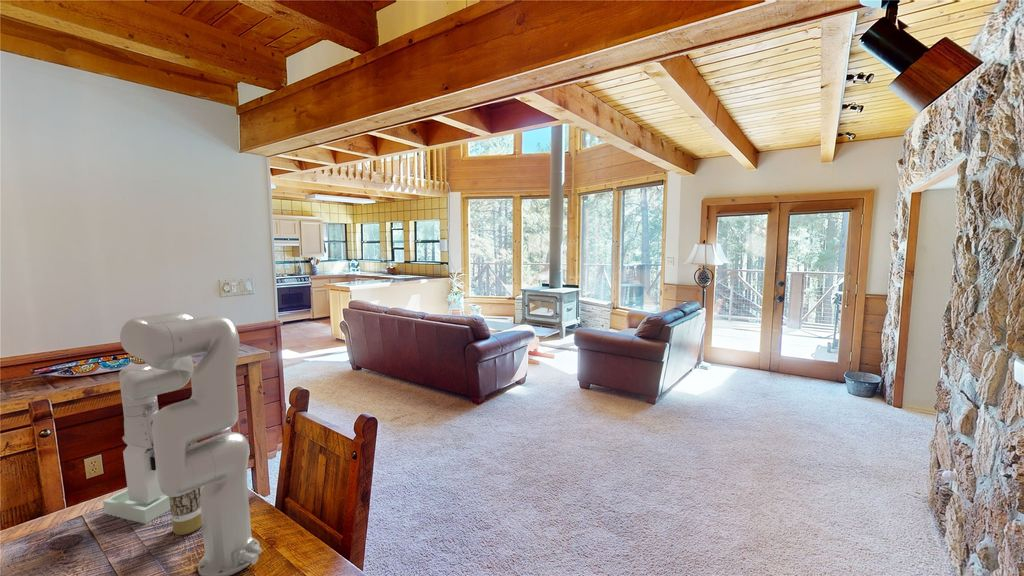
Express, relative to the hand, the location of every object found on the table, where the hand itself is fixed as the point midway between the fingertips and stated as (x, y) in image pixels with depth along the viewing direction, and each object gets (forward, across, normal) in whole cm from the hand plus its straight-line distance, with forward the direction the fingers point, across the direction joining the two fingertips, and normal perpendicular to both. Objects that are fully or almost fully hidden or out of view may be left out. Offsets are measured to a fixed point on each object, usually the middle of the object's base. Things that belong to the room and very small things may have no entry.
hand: (147, 465), depth 124 cm
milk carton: (+9, 0, 0) cm, 9 cm away
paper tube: (+12, -21, +5) cm, 25 cm away
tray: (+12, 0, 0) cm, 12 cm away
